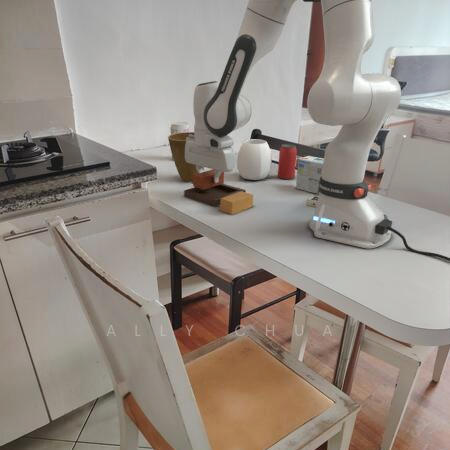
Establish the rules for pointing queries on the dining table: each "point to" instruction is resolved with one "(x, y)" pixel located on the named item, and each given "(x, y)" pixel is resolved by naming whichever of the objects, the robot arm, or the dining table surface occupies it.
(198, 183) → the reddish brown rectangular block
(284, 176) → the beer can
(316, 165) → the light bulb box
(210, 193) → the dark brown square tray
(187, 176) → the plant pot
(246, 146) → the white faceted vase
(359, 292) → the dining table surface
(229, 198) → the orange rectangular block
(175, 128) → the supplement can
